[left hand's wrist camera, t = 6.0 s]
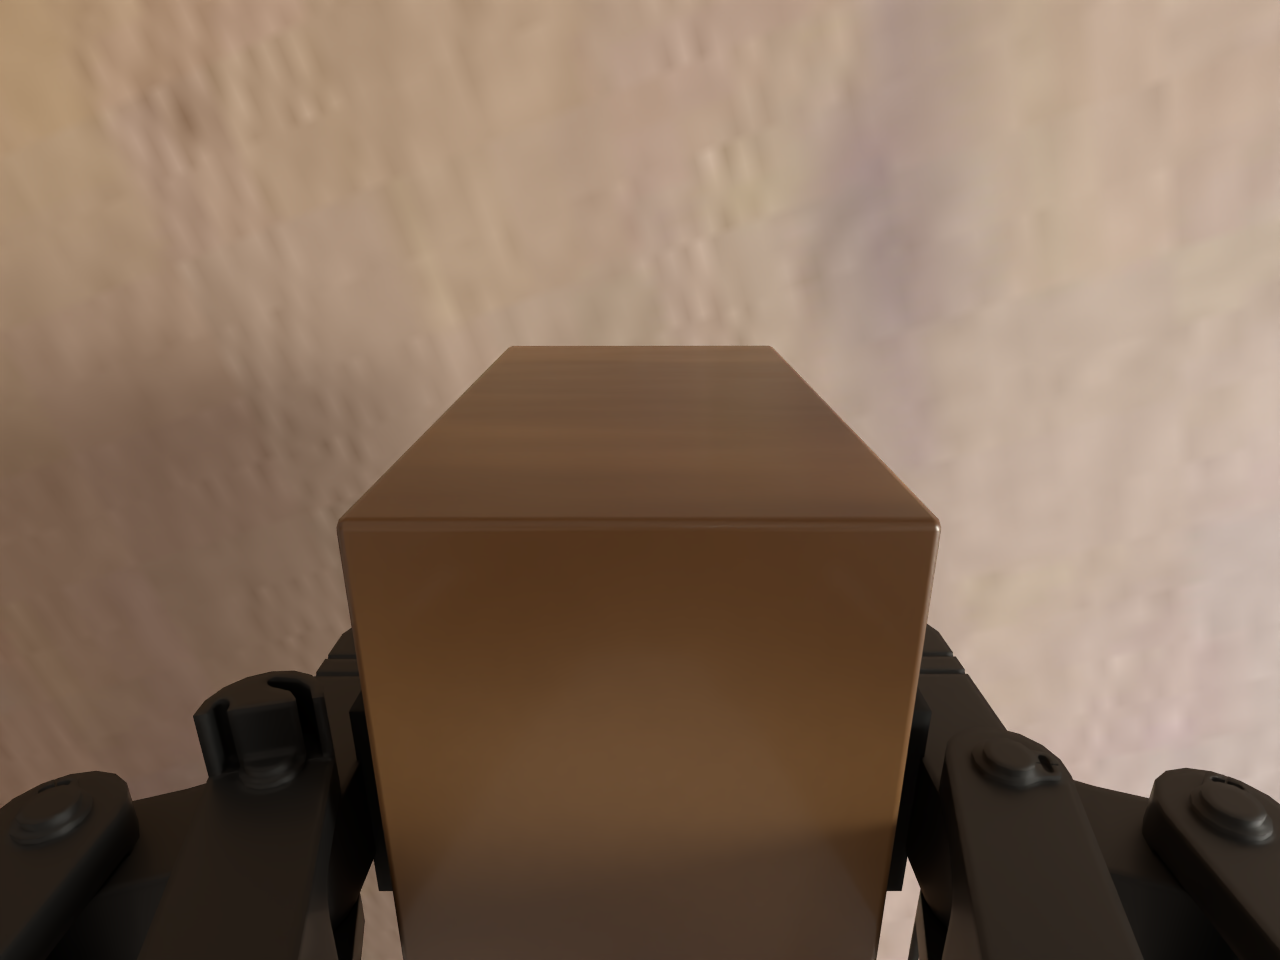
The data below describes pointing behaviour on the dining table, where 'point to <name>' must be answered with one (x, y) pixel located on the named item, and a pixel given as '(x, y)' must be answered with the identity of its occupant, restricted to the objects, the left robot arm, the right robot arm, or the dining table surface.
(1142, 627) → the dining table surface
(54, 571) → the dining table surface
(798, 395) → the beam
